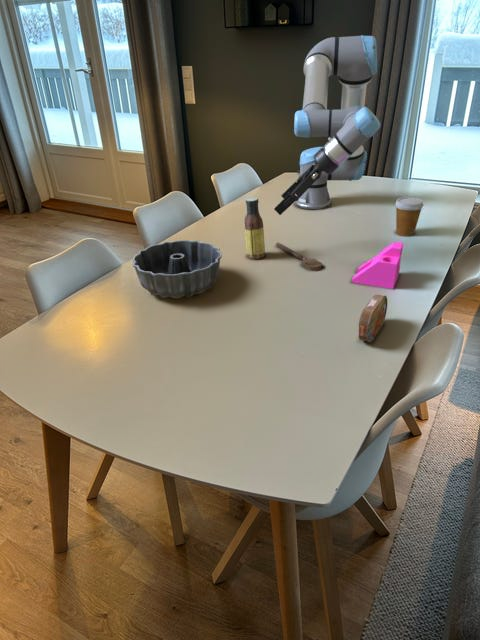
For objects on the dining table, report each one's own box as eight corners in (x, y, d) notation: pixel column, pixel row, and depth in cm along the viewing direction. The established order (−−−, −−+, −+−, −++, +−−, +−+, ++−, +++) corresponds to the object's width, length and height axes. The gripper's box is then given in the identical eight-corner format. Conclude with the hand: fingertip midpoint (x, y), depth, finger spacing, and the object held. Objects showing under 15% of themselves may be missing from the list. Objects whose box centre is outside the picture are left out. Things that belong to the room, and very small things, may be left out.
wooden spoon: (270, 247, 165) (270, 243, 164) (282, 244, 167) (282, 240, 166) (311, 271, 147) (311, 267, 146) (324, 267, 149) (325, 263, 148)
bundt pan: (187, 260, 159) (184, 232, 154) (241, 283, 143) (240, 252, 137) (120, 287, 144) (114, 257, 139) (173, 316, 127) (168, 284, 122)
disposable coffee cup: (415, 228, 175) (420, 196, 168) (421, 237, 167) (427, 204, 160) (389, 228, 176) (393, 196, 169) (394, 237, 168) (398, 205, 161)
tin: (367, 348, 110) (370, 318, 106) (354, 345, 112) (357, 315, 108) (386, 319, 121) (390, 290, 117) (374, 316, 123) (378, 288, 118)
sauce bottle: (267, 253, 161) (266, 196, 151) (262, 260, 156) (260, 202, 146) (249, 251, 163) (246, 195, 153) (243, 258, 158) (240, 201, 148)
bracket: (398, 274, 143) (403, 242, 138) (393, 288, 135) (397, 256, 130) (359, 268, 148) (362, 237, 142) (351, 282, 140) (354, 250, 134)
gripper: (326, 138, 146) (278, 185, 158) (318, 156, 126) (265, 209, 137) (342, 155, 148) (294, 201, 159) (337, 176, 127) (282, 226, 139)
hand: (280, 205), depth 148 cm, fingers open, 13 cm apart
